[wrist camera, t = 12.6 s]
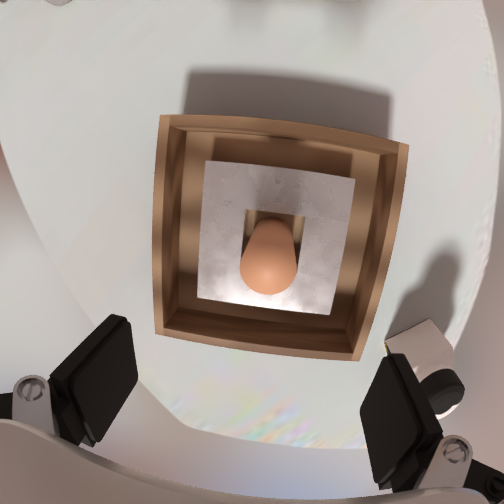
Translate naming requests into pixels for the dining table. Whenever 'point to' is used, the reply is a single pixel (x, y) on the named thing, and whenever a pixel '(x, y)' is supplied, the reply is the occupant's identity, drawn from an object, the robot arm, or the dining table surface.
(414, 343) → the medicine bottle
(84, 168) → the dining table surface
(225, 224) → the bore plate
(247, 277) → the peg
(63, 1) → the water bottle
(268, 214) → the open box
